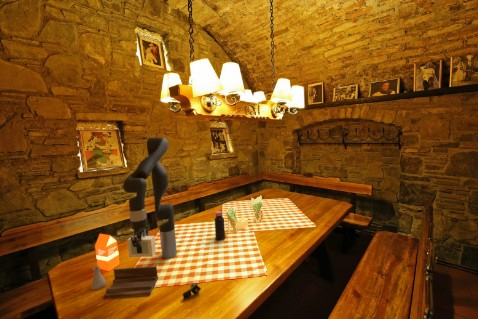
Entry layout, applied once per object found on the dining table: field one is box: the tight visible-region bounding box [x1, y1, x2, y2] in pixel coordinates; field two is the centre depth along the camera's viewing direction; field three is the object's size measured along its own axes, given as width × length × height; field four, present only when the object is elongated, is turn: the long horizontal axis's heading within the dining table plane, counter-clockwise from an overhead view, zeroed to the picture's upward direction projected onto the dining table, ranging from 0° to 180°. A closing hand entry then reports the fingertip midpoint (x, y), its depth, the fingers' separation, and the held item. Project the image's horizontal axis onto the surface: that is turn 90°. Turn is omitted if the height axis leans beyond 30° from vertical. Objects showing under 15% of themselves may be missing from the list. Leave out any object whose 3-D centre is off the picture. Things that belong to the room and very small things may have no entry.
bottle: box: [214, 210, 226, 241], centre depth 164 cm, size 7×7×20 cm
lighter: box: [182, 282, 202, 300], centre depth 108 cm, size 8×2×5 cm
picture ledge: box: [103, 265, 159, 299], centre depth 116 cm, size 12×22×8 cm, turn 92°
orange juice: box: [94, 233, 120, 272], centre depth 136 cm, size 8×9×20 cm
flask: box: [90, 265, 107, 291], centre depth 119 cm, size 7×7×10 cm
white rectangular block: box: [126, 235, 157, 258], centre depth 115 cm, size 12×4×9 cm, turn 87°
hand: (142, 250), depth 115 cm, fingers closed on white rectangular block, 4 cm apart
